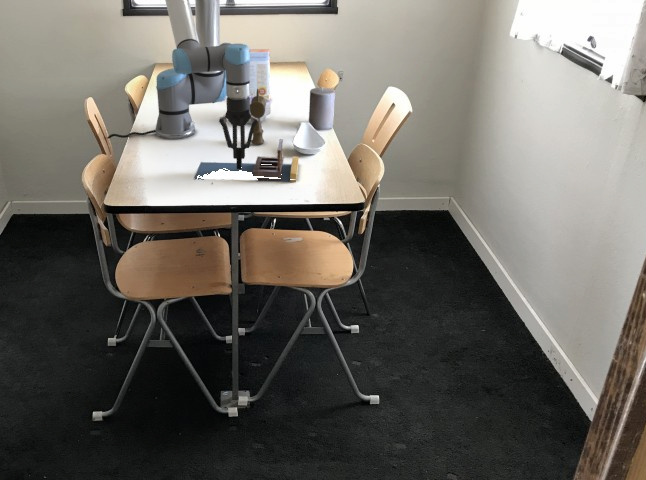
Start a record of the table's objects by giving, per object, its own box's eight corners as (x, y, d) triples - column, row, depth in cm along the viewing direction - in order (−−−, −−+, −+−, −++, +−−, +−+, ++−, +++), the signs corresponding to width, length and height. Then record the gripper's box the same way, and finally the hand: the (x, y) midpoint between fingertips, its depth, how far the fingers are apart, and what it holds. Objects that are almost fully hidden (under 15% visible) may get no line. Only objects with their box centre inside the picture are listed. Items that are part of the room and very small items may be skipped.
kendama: (248, 147, 260) (248, 92, 249) (250, 139, 268) (250, 84, 257) (265, 148, 260) (265, 92, 248) (266, 139, 268) (266, 85, 256)
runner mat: (193, 180, 235) (193, 179, 235) (200, 163, 248) (200, 162, 248) (296, 183, 231) (296, 182, 231) (298, 165, 245) (298, 164, 244)
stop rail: (290, 181, 231) (290, 173, 230) (292, 164, 245) (292, 156, 243) (296, 182, 231) (296, 173, 230) (298, 164, 244) (298, 156, 243)
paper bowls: (248, 112, 296) (248, 93, 292) (278, 119, 288) (278, 99, 284) (225, 121, 287) (224, 101, 282) (254, 128, 278) (254, 108, 274)
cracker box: (269, 98, 312) (270, 48, 301) (268, 102, 307) (269, 51, 296) (238, 98, 314) (237, 48, 302) (236, 102, 309) (235, 51, 297)
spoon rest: (327, 157, 250) (329, 137, 246) (295, 159, 250) (295, 138, 246) (316, 135, 270) (317, 117, 266) (285, 137, 269) (286, 118, 265)
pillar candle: (303, 126, 280) (304, 87, 271) (319, 120, 285) (321, 82, 277) (322, 131, 274) (324, 92, 265) (338, 126, 280) (340, 87, 271)
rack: (253, 180, 233) (253, 151, 228) (257, 164, 245) (257, 137, 239) (280, 180, 232) (281, 152, 227) (283, 165, 244) (284, 137, 238)
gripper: (216, 99, 223) (218, 171, 237) (257, 100, 222) (257, 172, 236) (219, 93, 230) (221, 163, 243) (259, 93, 228) (259, 164, 242)
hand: (239, 167), depth 239 cm, fingers closed
